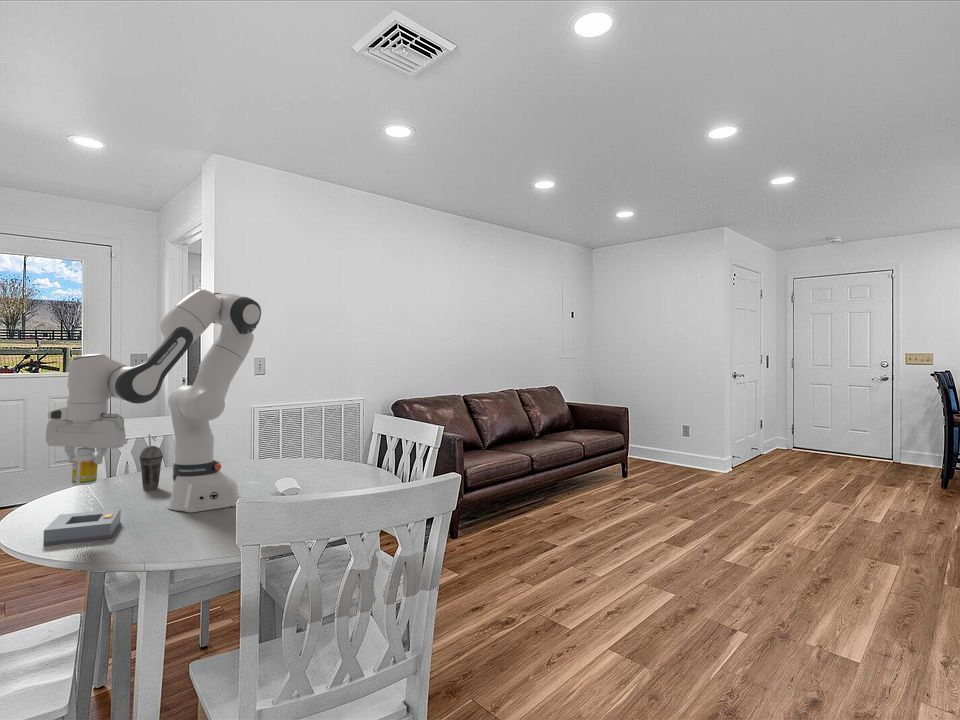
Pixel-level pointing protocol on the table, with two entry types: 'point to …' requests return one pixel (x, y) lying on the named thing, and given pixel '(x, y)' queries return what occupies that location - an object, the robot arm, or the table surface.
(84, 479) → the supplement bottle
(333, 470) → the table surface
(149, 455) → the beverage cup
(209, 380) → the robot arm
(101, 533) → the dock
